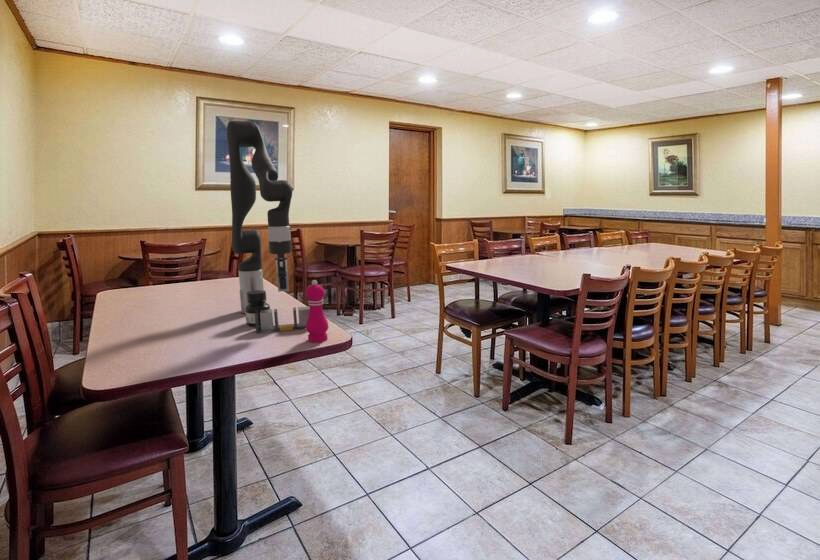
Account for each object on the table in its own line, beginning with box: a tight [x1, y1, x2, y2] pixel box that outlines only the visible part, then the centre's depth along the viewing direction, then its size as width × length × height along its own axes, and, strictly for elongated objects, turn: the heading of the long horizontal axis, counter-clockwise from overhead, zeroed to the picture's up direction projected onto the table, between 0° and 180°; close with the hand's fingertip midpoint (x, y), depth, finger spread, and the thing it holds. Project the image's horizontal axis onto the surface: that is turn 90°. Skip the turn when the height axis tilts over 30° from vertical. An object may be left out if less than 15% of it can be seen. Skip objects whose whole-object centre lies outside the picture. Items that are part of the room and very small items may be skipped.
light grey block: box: [276, 270, 290, 292], centre depth 172 cm, size 4×5×7 cm
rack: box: [255, 305, 310, 334], centre depth 174 cm, size 20×5×7 cm, turn 104°
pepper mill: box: [305, 279, 329, 343], centre depth 159 cm, size 7×7×20 cm
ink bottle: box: [244, 290, 271, 327], centre depth 182 cm, size 10×9×12 cm
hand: (283, 287), depth 172 cm, fingers closed on light grey block, 4 cm apart
